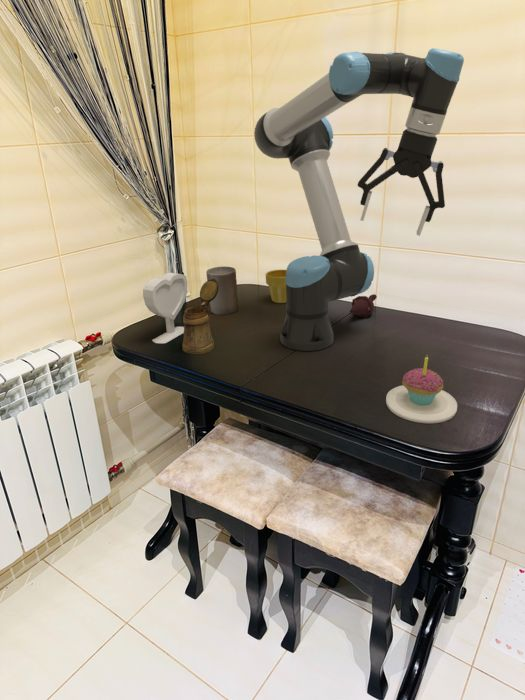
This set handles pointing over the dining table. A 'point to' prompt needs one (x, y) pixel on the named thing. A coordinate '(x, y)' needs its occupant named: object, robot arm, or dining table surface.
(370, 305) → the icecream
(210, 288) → the wooden mug
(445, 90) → the robot arm
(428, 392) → the cupcake
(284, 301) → the plant pot
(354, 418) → the dining table surface
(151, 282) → the heart sculpture
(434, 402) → the saucer
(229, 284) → the pillar candle
